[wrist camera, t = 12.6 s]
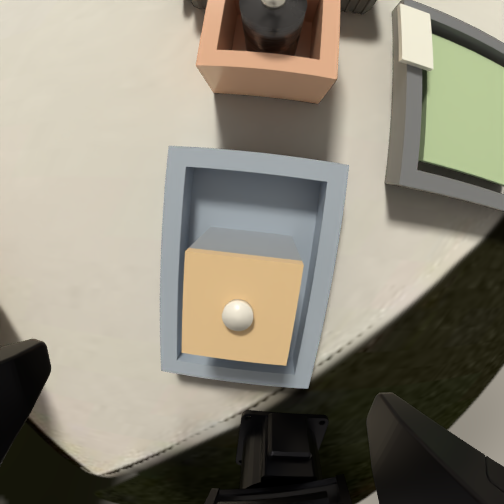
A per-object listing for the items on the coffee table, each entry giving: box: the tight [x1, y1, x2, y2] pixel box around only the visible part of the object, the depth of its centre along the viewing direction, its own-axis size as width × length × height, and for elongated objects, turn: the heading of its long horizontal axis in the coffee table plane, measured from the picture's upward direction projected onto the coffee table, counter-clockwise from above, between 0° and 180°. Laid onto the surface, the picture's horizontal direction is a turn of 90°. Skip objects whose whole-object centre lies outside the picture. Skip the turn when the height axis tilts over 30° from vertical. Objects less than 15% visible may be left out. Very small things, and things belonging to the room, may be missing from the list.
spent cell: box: [239, 0, 307, 56], centre depth 12 cm, size 3×3×6 cm
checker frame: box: [385, 0, 504, 212], centre depth 15 cm, size 12×12×3 cm
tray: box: [160, 146, 349, 389], centre depth 18 cm, size 13×9×2 cm
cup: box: [196, 0, 340, 104], centre depth 13 cm, size 6×6×5 cm
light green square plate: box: [418, 34, 504, 186], centre depth 15 cm, size 9×8×1 cm
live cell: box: [182, 227, 304, 366], centre depth 15 cm, size 4×4×6 cm
